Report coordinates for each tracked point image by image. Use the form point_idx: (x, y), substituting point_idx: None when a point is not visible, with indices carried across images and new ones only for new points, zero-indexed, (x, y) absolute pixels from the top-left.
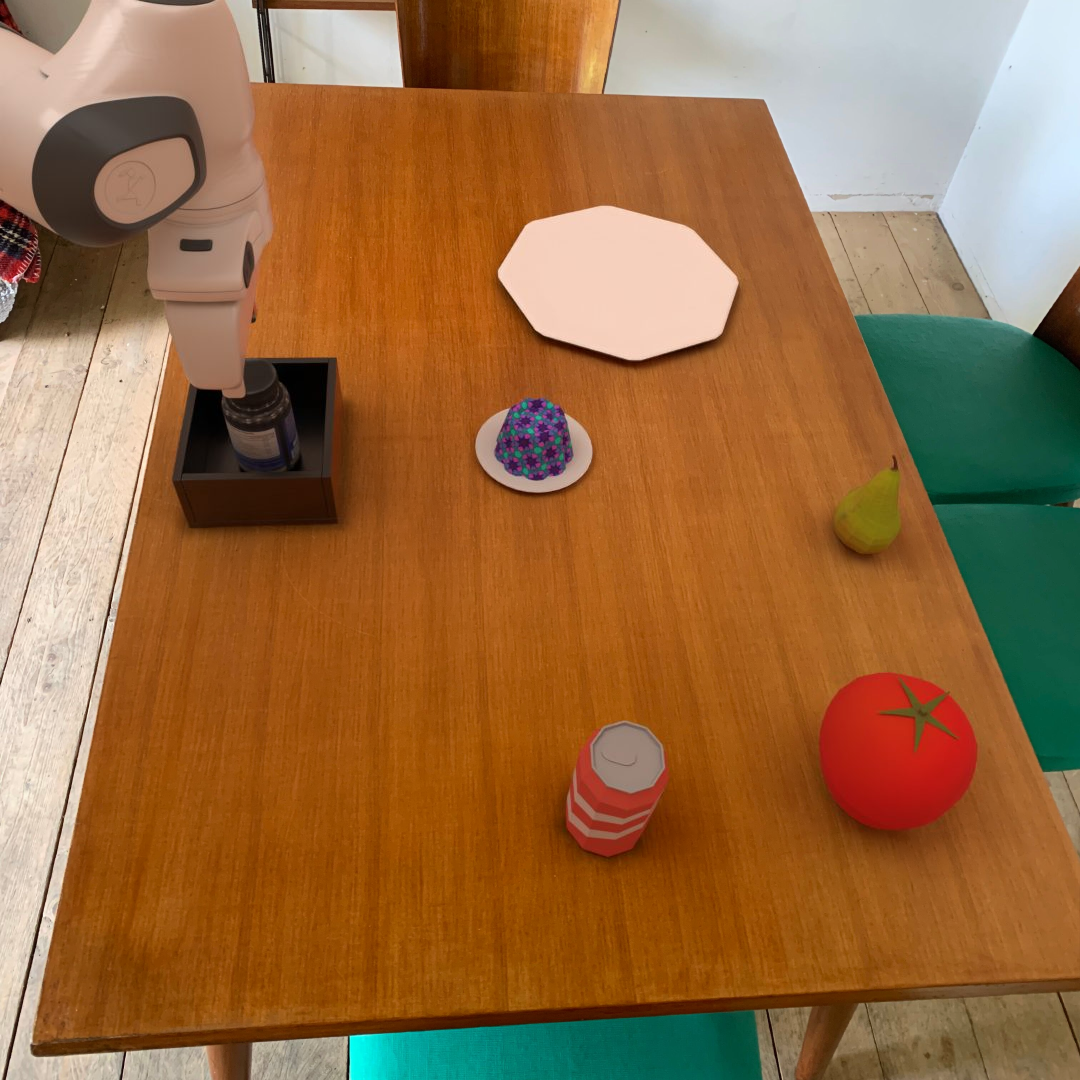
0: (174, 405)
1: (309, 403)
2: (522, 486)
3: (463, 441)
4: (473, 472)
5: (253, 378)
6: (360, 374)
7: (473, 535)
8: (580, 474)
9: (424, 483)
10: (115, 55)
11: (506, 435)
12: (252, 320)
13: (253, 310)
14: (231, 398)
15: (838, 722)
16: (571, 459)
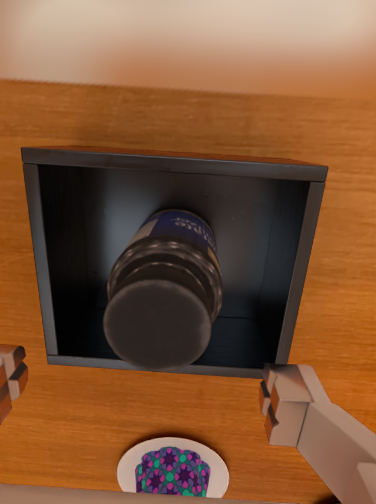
0: (305, 105)
1: (261, 295)
2: (125, 462)
3: (193, 423)
4: (151, 426)
5: (147, 335)
6: (314, 342)
7: (73, 417)
8: None
9: (138, 387)
10: None
11: (160, 488)
12: (260, 397)
13: (267, 432)
14: (122, 281)
15: None
16: None
